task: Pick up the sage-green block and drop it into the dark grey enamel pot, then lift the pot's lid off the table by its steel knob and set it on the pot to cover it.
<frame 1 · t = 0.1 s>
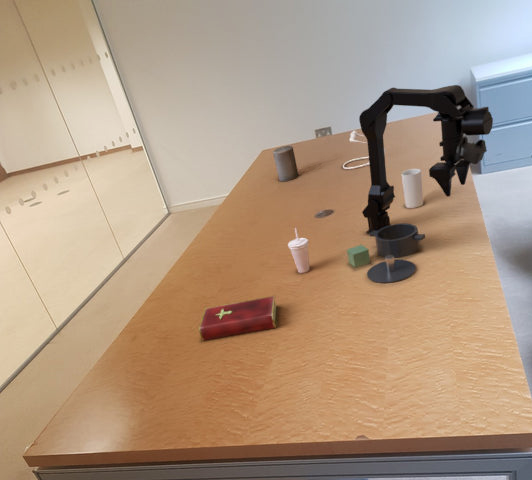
hand: (455, 190, 165), 15 cm above the table, tool pointing down, fingers open, 9 cm apart
smoothie: (304, 270, 179), on the table
mug: (415, 203, 204), on the table
pot: (398, 251, 174), on the table
pillar candle: (288, 178, 270), on the table
hardcover book: (241, 324, 159), on the table
earphone: (364, 163, 261), on the table
block: (359, 264, 173), on the table
lid: (391, 271, 162), point 1 cm above the table
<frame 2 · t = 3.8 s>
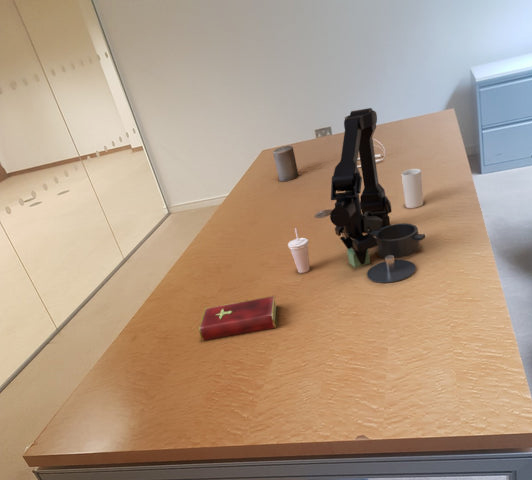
hand: (359, 261, 172), 1 cm above the table, tool pointing down, fingers closed on block, 5 cm apart
block: (359, 264, 173), on the table, touching gripper
everything else where it was.
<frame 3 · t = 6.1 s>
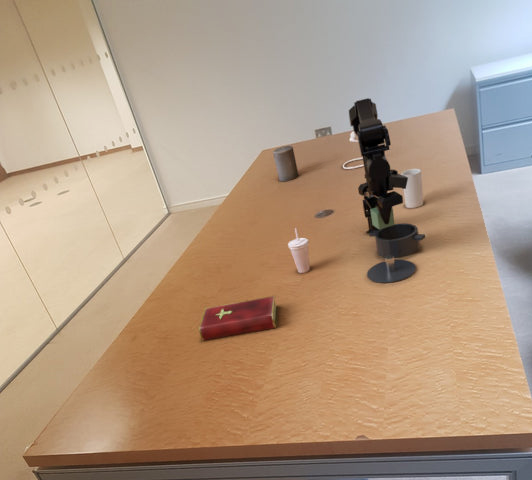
hand: (383, 221, 168), 11 cm above the table, tool pointing down, fingers closed on block, 5 cm apart
block: (383, 224, 169), point 10 cm above the table, touching gripper
everything else where it was.
when the fingers open (5 cm above the table, at t = 8.6 s): block drops 4 cm, resting on pot.
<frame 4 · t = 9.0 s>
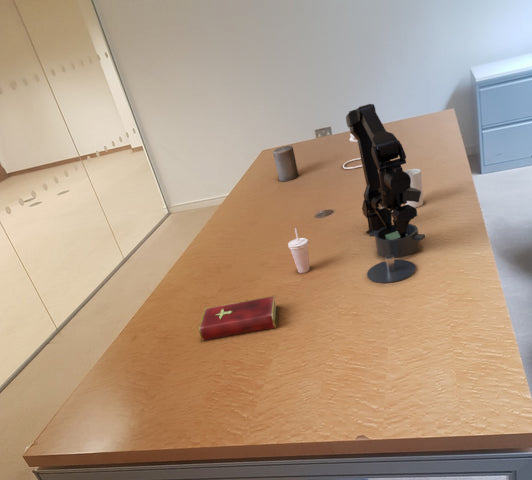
hand: (396, 233, 171), 6 cm above the table, tool pointing down, fingers open, 9 cm apart
block: (398, 249, 174), resting on pot
everything else where it was.
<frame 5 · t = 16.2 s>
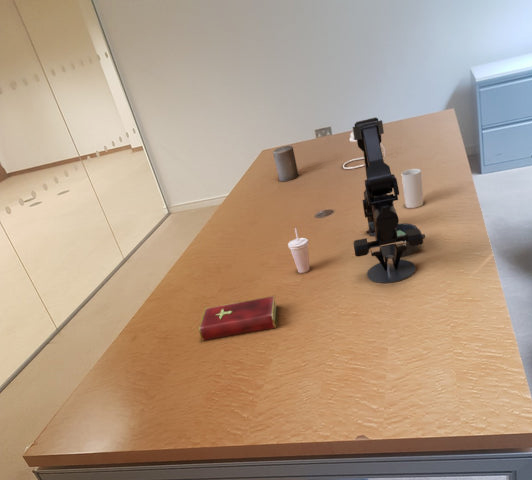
hand: (391, 269, 162), 1 cm above the table, tool pointing down, fingers closed on lid, 3 cm apart
lid: (391, 271, 162), point 1 cm above the table, touching gripper
everything else where it was.
when the fingers open (7 cm above the table, at t = 20.4 s): lid stays where it is, resting on pot.
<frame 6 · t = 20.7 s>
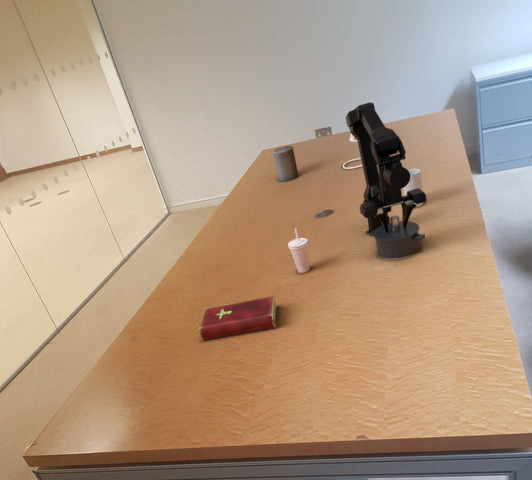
hand: (395, 230, 170), 7 cm above the table, tool pointing down, fingers open, 5 cm apart
lid: (395, 231, 171), point 6 cm above the table, touching pot
everything else where it was.
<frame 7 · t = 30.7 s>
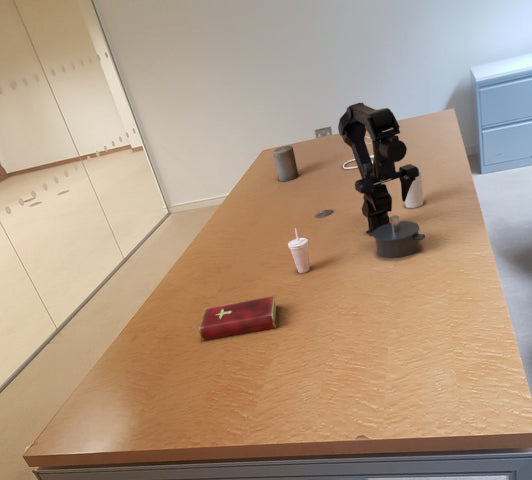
hand: (390, 205, 174), 12 cm above the table, tool pointing down, fingers open, 9 cm apart
nothing on the table moved.
at the end: block inside the target area in the pot (0.0 cm from its centre), point 0.4 cm above the pot's base; lid 0.0 cm off-centre on the pot, point 6.4 cm above the pot's base; lid tilted 0° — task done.
